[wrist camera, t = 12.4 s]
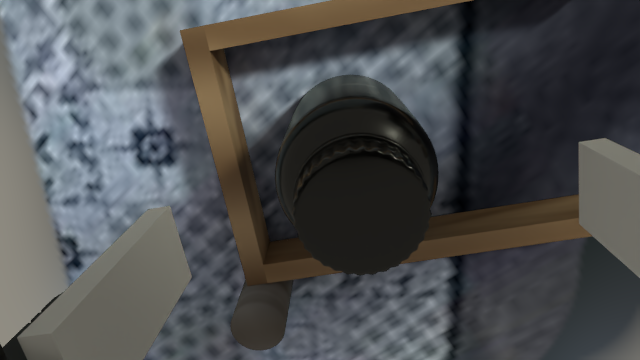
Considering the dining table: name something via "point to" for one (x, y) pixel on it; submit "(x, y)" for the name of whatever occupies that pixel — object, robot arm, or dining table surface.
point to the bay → (290, 255)
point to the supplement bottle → (356, 176)
